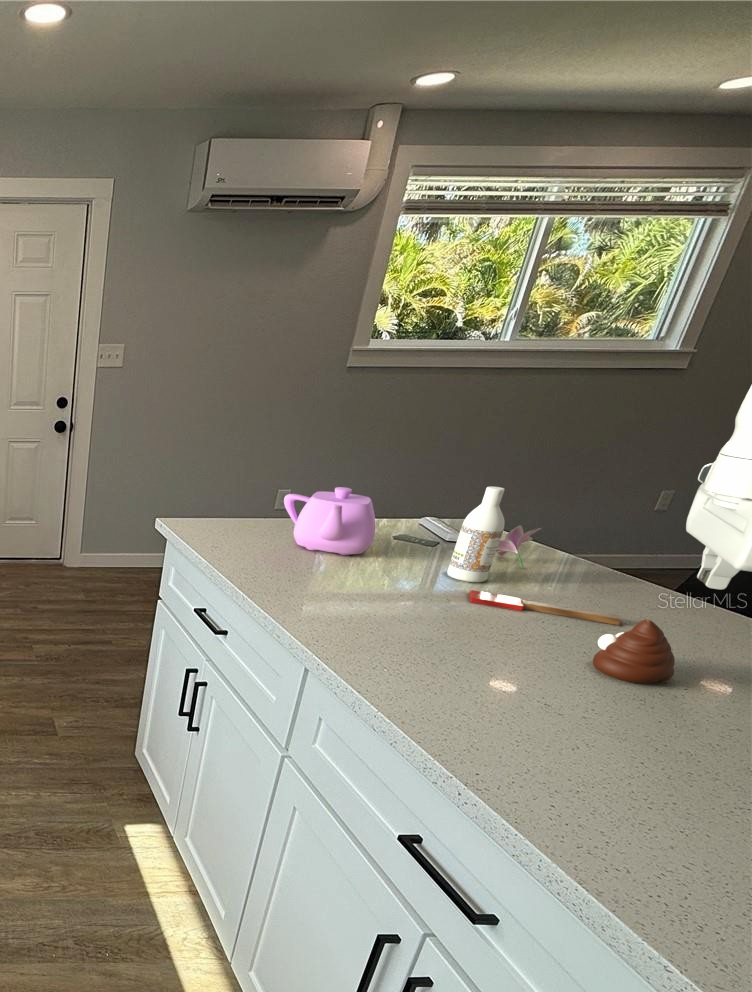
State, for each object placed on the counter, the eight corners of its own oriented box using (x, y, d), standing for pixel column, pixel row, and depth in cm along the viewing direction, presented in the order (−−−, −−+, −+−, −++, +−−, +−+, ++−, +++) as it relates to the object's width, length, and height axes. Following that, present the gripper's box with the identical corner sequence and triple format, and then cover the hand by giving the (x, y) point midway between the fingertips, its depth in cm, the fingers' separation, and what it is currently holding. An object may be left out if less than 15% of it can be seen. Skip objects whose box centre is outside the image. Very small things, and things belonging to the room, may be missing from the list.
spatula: (614, 618, 119) (617, 612, 119) (621, 628, 115) (623, 622, 115) (468, 594, 131) (470, 588, 130) (470, 602, 127) (472, 596, 126)
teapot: (281, 531, 172) (292, 476, 166) (372, 544, 161) (387, 486, 155) (265, 554, 155) (277, 493, 149) (365, 570, 144) (382, 505, 138)
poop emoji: (634, 689, 96) (661, 634, 92) (573, 663, 104) (595, 611, 100) (685, 682, 98) (713, 628, 94) (621, 657, 105) (645, 605, 102)
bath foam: (468, 584, 135) (499, 492, 128) (438, 573, 142) (466, 485, 134) (493, 581, 137) (526, 490, 129) (463, 570, 143) (492, 483, 135)
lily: (534, 564, 149) (523, 525, 150) (564, 560, 138) (552, 518, 139) (474, 576, 153) (464, 537, 154) (499, 573, 142) (488, 532, 143)
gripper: (843, 502, 69) (779, 617, 74) (765, 470, 85) (717, 567, 90) (757, 494, 72) (702, 605, 78) (697, 465, 88) (655, 559, 93)
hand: (710, 584), depth 84 cm, fingers closed
